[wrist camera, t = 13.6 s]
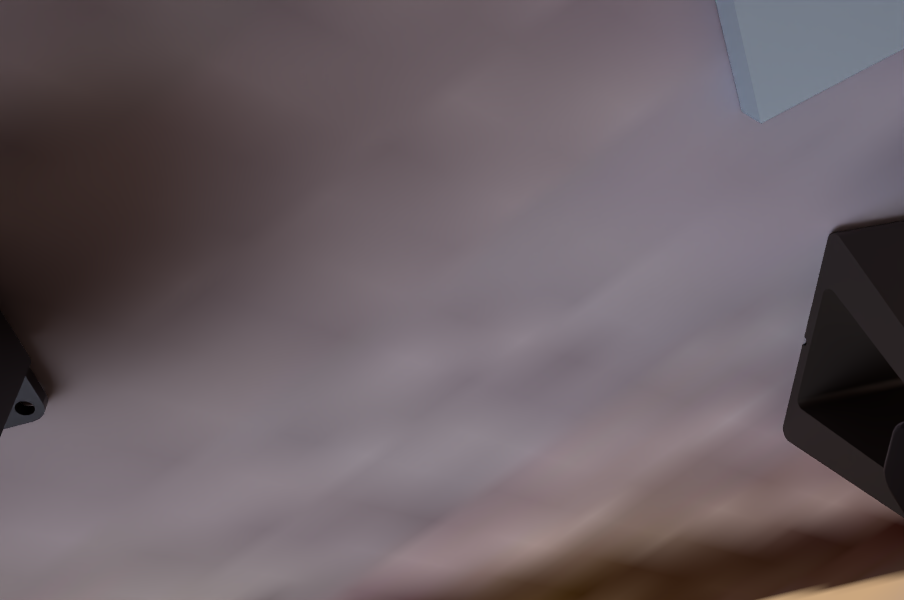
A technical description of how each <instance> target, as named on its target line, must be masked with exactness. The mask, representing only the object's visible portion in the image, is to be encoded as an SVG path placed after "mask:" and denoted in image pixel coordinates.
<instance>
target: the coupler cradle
mask: <svg viewBox="0 0 904 600" xmlns="http://www.w3.org/2000/svg"><path fill="white" fill-rule="evenodd" d="M715 1H716V5H717V9H718V14H719V18H720V22H721V26H722V30H723V35H724V39H725V43H726V47H727V51H728V56H729V60H730V64H731V68H732V73H733V77H734V81H735V85H736V89H737V94H738V98H739V102H740V106H741V110H742V112H743V113H745V114H746V115H748V116H750V117H751V118H753V119H754V120H756V121H758V122H759V123H763V122H765V121H767V120H769V119H771V118H773V117H775V116H777V115H779V114H781V113H782V112H784V111H786V110H788V109H790V108H792V107H794V106H796V105H798V104H800V103H802V102H803V101H805V100H807V99H809V98H811V97H813V96H815V95H817V94H819V93H821V92H822V91H824V90H826V89H828V88H830V87H832V86H834V85H836V84H838V83H840V82H842V81H843V80H845V79H847V78H849V77H851V76H853V75H855V74H857V73H859V72H861V71H863V70H864V69H866V68H868V67H870V66H872V65H874V64H876V63H878V62H880V61H882V60H883V59H885V58H887V57H889V56H891V55H893V54H895V53H897V52H899V51H901V50H903V49H904V0H715Z"/></svg>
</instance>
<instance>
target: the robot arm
mask: <svg viewBox="0 0 904 600" xmlns="http://www.w3.org/2000/svg"><path fill="white" fill-rule="evenodd" d="M30 364H31V359H30V357H29V356H28V354H27V352H26V351H25V349H24V348H23V346H22V344H21V343H20V341H19V339H18V338H17V336H16V335H15V333H14V331H13V330H12V328H11V327H10V325H9V323H8V322H7V320H6V319H5V317H4V315H3V314H2V312H1V311H0V436H1V434H2V431H3V429H6V428H10V427H14V426H17V425H21V424H25V423H29V422H33V421H35V420H38V419H40V418H41V417H42V416H43V414H44V412H45V409H46V406H47V403H48V398H47V395H46V393H45V391H44V390H43V388H42V387H41V385H40V384H39V382H38V380H37V379H36V377H35V376H34V374H33V372H32V371H31V369H30V368H29V367H30ZM20 401H27V402H30V403H32V404H33V405H34V406H25V405H22V404H21V403H20ZM884 477H885V481H886V484H887V486H888V488H889V490H890V492H891V493H892V495H893V497H894V498H895V500H896V502H897V503H898V505H899V507H900V508H901V510H902V512H903V513H904V422H901V423H899V424H898V425H897V426H896V427H895V428H894V430H893V433H892V437H891V441H890V445H889V449H888V452H887V456H886V460H885V464H884Z"/></svg>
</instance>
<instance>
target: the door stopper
mask: <svg viewBox="0 0 904 600" xmlns="http://www.w3.org/2000/svg"><path fill="white" fill-rule="evenodd" d="M805 338H806V340H807V344H804V345H802V349H801V353H800V358H799V362H798V366H797V370H796V374H795V379H794V383H793V387H792V391H791V395H790V400H789V404H788V408H787V412H786V416H785V421H784V425H783V432H784V435H785V437H786V439H787V440H788V441H789V442H791V443H792V444H794V445H795V446H797V447H798V448H800V449H801V450H803V451H804V452H806V453H807V454H809V455H810V456H812V457H813V458H815V459H816V460H818V461H819V462H821V463H822V464H824V465H825V466H827V467H828V468H830V469H831V470H833V471H834V472H836V473H837V474H839V475H840V476H842V477H843V478H845V479H846V480H848V481H849V482H851V483H852V484H854V485H855V486H857V487H858V488H860V489H861V490H863V491H864V492H866V493H867V494H869V495H870V496H872V497H873V498H875V499H876V500H878V501H879V502H881V503H882V504H884V505H885V506H887V507H888V508H890V509H891V510H893V511H894V512H896V513H897V514H899V515H900V516H902V517H903V518H904V513H903V512H902V510H901V508H900V507H899V505H898V503H897V502H896V500H895V498H894V497H893V495H892V493H891V492H890V490H889V488H888V486H887V484H886V481H885V477H884V464H885V460H886V456H887V452H888V449H889V445H890V441H891V437H892V433H893V430H894V428H895V427H896V426H897V425H898V424H899V423H901V422H904V221H901V222H895V223H889V224H884V225H878V226H872V227H867V228H861V229H855V230H850V231H844V232H838V233H833V234H830V235H829V237H828V240H827V244H826V248H825V252H824V257H823V261H822V265H821V269H820V274H819V278H818V282H817V286H816V290H815V295H814V299H813V303H812V307H811V311H810V316H809V320H808V324H807V328H806V332H805Z"/></svg>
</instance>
